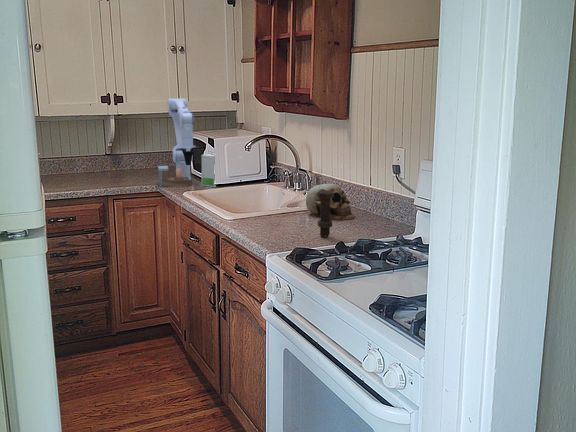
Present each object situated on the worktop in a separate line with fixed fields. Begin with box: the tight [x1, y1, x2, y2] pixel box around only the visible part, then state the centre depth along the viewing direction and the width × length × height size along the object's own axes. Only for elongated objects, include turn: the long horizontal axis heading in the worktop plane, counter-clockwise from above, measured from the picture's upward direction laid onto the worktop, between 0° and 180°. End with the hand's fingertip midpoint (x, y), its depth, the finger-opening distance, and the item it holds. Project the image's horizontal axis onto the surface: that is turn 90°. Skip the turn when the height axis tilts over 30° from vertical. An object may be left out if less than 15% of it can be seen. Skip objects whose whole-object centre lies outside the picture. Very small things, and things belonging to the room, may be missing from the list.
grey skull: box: [305, 183, 356, 221], centre depth 229 cm, size 16×17×13 cm
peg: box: [175, 168, 182, 180], centre depth 301 cm, size 3×3×8 cm
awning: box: [157, 165, 169, 188], centre depth 299 cm, size 11×5×9 cm, turn 12°
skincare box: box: [201, 153, 217, 188], centre depth 297 cm, size 8×7×16 cm
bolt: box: [317, 191, 334, 239], centre depth 196 cm, size 6×5×15 cm
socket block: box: [162, 176, 190, 188], centre depth 301 cm, size 10×13×3 cm
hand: (188, 164), depth 304 cm, fingers open, 7 cm apart
